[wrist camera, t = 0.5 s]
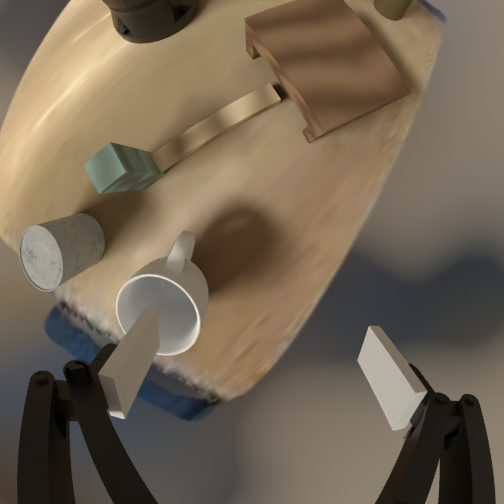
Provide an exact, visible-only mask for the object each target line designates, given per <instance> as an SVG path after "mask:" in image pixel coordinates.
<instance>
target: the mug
mask: <svg viewBox="0 0 504 504" xmlns="http://www.w3.org/2000/svg"><path fill="white" fill-rule="evenodd" d="M195 239H196V236H195V235H194V234H193V233H192V232H189V231H183V232H182V233H181V234H180V236H179V237H178V239H177V241H176V243H175V245H174V247H173V249H172V251H171V252H170V254H169V256H168V257H164V258H161V259H157V260H154V261H153V262H150V263H149V264H148V265H145V266H144V267H143V268H141V269H140V270H139V271H137V272H136V273H135V274H134V275H133V276H132V277H131V278H130V279H129V280H128V281H127V282H126V283H125V284H124V285H123V286H122V288H121V289H120V291H119V293H118V296H117V300H116V312H117V317H118V321H119V323H120V326H121V328H122V330H123V331H124V333H125V334H127V332H128V331H129V329H130V328H131V327H132V325H133V324H134V323H135V321H136V320H137V319H138V317H139V316H140V315H141V313H142V312H143V311H144V309H145V308H146V307H151V308H158V318H159V336H160V347H159V349H158V351H157V353H156V354H158V355H176V354H179V353H182V352H184V351H186V350H187V349H189V348H190V347H191V346H192V345H193V344H194V343H195V342H196V340H197V339H198V337H199V334H200V331H201V328H202V326H203V322H204V320H205V316H206V311H207V306H208V300H209V297H208V295H209V292H208V286H207V282H206V279H205V277H204V275H203V273H202V271H201V270H200V269H199V268H198V267H197V266H196V265H195V264H194V263H193V262H191V258H192V253H193V250H194V244H195Z"/></svg>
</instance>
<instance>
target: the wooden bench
mask: <svg viewBox="0 0 504 504" xmlns="http://www.w3.org/2000/svg"><path fill="white" fill-rule="evenodd" d="M245 31H246V51H247V52H248V54H249V55H250V56H251V57H252V59H255V58H257V57H260V56H262V58H263V59H264V60H265V62H266V63H267V64H268V66H269V67H270V68H271V70H272V71H273V72H274V74H275V75H276V77H277V78H278V79H279V81H280V82H281V84H282V85H283V87H284V88H285V90H286V91H287V93H288V94H289V95H290V97H291V98H292V100H293V101H294V103H295V105H296V106H297V108H298V109H299V111H300V112H301V114H302V115H303V117H304V119H305V120H306V122H307V123H308V126H307V127H306V128H305V129H304V130H303V131H302V133H303V134H304V136H305V138H306V139H307V141H308V143H310V142H312V141H314V140H316V139H318V138H320V137H322V136H324V135H326V134H328V133H330V132H332V131H334V130H336V129H338V128H340V127H342V126H344V125H346V124H348V123H350V122H352V121H354V120H356V119H358V118H361V117H363V116H365V115H367V114H369V113H371V112H373V111H376V110H378V109H380V108H382V107H384V106H386V105H388V104H390V103H392V102H394V101H396V100H398V99H400V98H402V97H404V96H406V95H408V94H410V93H411V92H410V90H409V88H408V87H407V85H406V83H405V82H404V80H403V78H402V77H401V75H400V74H399V72H398V70H397V69H396V67H395V66H394V64H393V63H392V61H391V60H390V58H389V57H388V55H387V54H386V53H385V51H384V50H383V48H382V47H381V46H380V44H379V43H378V41H377V40H376V39H375V37H374V36H373V35H372V34H371V32H370V31H369V30H368V28H367V27H366V26H365V25H364V23H363V22H362V21H361V20H360V19H359V17H358V16H357V15H356V14H355V13H354V12H353V11H352V9H351V8H350V7H349V6H348V5H347V4H346V3H345V2H344V1H343V0H296V1H293V2H289V3H286V4H283V5H280V6H277V7H274V8H271V9H268V10H265V11H263V12H260V13H257V14H255V15H252V16H250V17H247V18H245Z"/></svg>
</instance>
